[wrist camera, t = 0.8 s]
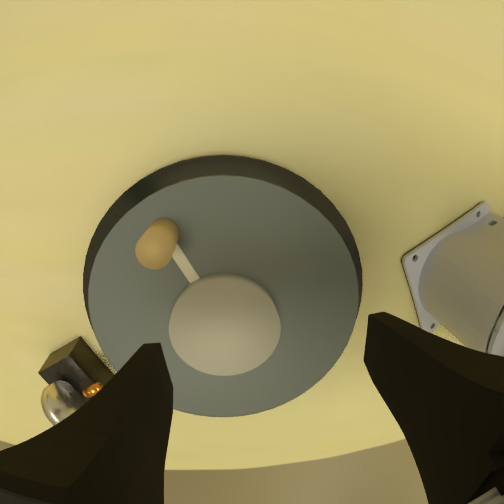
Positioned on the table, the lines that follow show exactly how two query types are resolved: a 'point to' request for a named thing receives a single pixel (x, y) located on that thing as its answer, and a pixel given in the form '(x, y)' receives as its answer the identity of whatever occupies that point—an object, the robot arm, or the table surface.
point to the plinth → (213, 167)
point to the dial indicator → (71, 379)
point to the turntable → (226, 292)
